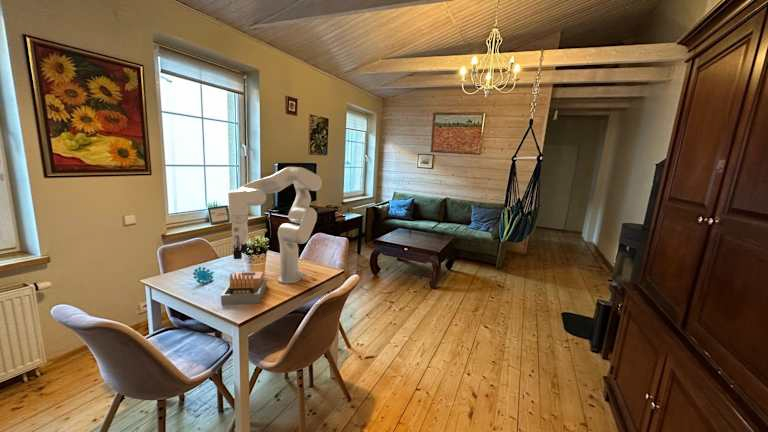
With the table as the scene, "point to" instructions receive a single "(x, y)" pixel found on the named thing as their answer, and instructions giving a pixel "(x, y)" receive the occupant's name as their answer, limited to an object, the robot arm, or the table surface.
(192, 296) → the table surface
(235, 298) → the grey shallow rimmed piece
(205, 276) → the gear
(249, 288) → the ammunition clip
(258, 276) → the slider
